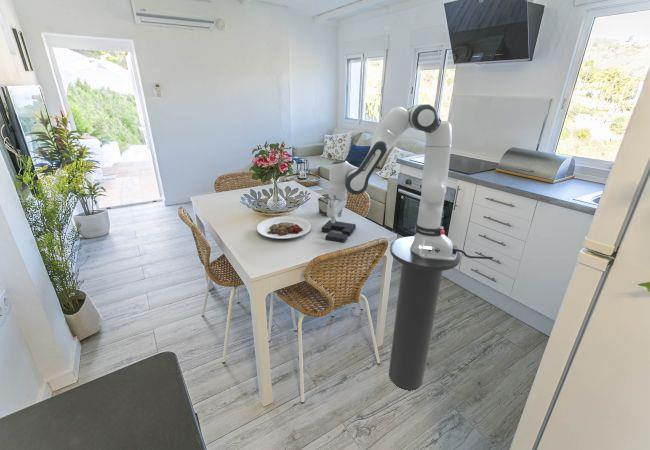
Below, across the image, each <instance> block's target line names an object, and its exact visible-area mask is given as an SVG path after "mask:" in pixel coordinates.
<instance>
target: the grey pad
mask: <svg viewBox="0 0 650 450" xmlns="http://www.w3.org/2000/svg"><path fill="white" fill-rule="evenodd" d="M324 237H325V239H324V240H325V241H328V242H333V243H339V244H345V242H346V241H347V240H348V236H347V235H346V234H342V233H339V232H334V231H330V232H329V233H328V232H327V234H326V235H325V236H324Z"/></svg>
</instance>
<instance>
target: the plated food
mask: <svg viewBox="0 0 650 450" xmlns="http://www.w3.org/2000/svg"><path fill="white" fill-rule="evenodd" d="M311 230H312V224H311V222H310V221H309V220H307V219H305V218H302V217H299V216H298V217H297V216H292V215H291V216H287V215H285V216H275V217H270V218H267V219H264V220H263V221H261V222H259V224H257V226H256V231H257V232H258V233H259V234H260V235H261V236H263V237H266V238H269V239H277V240H279V239H281V240H284V239H294V238H298V237H302V236H305V235H306V234H308V233H309V232H310V231H311Z"/></svg>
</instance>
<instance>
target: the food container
mask: <svg viewBox="0 0 650 450" xmlns="http://www.w3.org/2000/svg"><path fill="white" fill-rule="evenodd" d="M330 200H331V198H330V197H326V196H323V197H318V198H317V201H318V213H319V214H320V215H322V216H325V217H326V218H329V217H328V216H327V206H328V202H329V201H330Z"/></svg>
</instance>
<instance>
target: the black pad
mask: <svg viewBox="0 0 650 450" xmlns="http://www.w3.org/2000/svg"><path fill="white" fill-rule="evenodd" d="M356 226H357V224H356V223H350V222H344V221H339V220H338V221H337V220H336V222H335V223H331V219H329V220H328V221H327V222H326V223H324V224H323V226H322V227H321V232H323V233H327V234H328V233H329V232H332V230H333V231H339V232H340V231H341V234H346V235H347V237H350V236H351V235H352V234H353V232H354V231H355V229H356Z"/></svg>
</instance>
